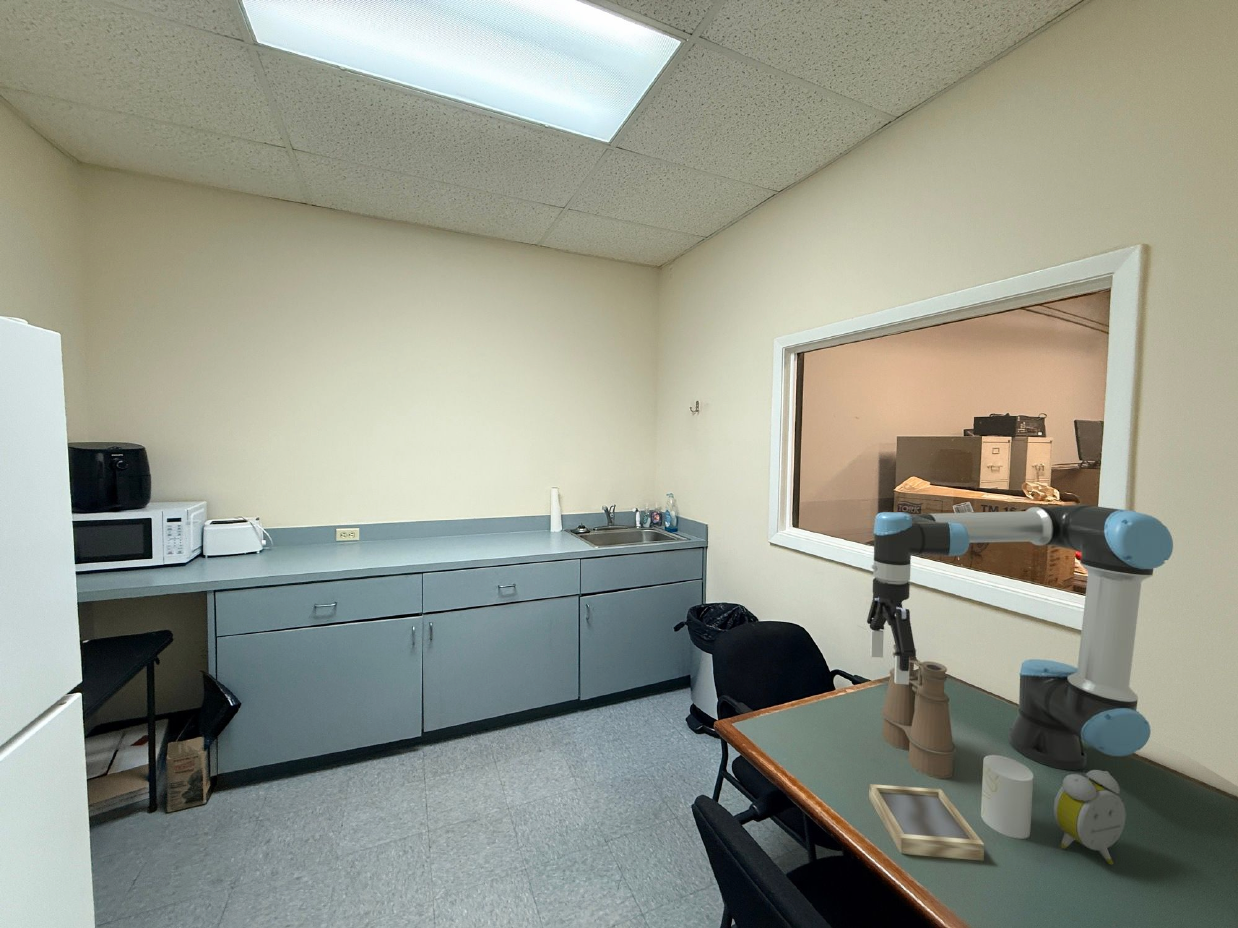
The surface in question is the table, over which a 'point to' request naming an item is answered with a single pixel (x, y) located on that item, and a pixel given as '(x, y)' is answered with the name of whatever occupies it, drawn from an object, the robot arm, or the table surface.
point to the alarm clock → (1090, 811)
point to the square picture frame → (925, 822)
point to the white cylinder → (1007, 796)
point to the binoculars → (920, 718)
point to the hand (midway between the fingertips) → (888, 669)
